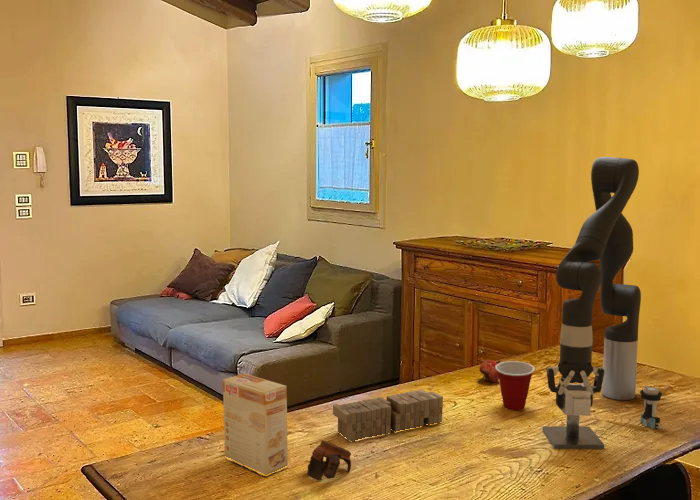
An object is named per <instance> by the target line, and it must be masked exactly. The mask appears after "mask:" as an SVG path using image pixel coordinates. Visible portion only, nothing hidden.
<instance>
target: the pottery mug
mask: <svg viewBox="0 0 700 500" xmlns="http://www.w3.org/2000/svg"><path fill="white" fill-rule="evenodd" d="M311 453H312V454H311V456H310V460H309V463H308V464H307V472H306V474H307V475H308V477H310V478H311V479H313V480H316V481H318V480H321V481H322V479H323V476H324V477H325V479H327V480H331V479H334V478H335V476H336V475H337V470H338V469H339V467H340V464H341V460H343V462H345V463H346V464H347V470H346V472H351V469H352V460H351V456H352V453H351V452H350V451H349V450H347V449H345V448H343V447H342V446H339V445H337V444H333V443H332V442H330V441H327V440H322V441H321V443H320V444H319V445H318V446H316V447H315V449H313V451H312V452H311ZM324 458H325V461H324Z"/></svg>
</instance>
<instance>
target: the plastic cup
mask: <svg viewBox="0 0 700 500" xmlns="http://www.w3.org/2000/svg"><path fill="white" fill-rule="evenodd" d="M495 367H496V370H497V372H498V376H499V380H498V381H499V387H500V392H501V393H500V395H501V398H502V405H503V408H504V409H506V410H508V411H515V412H516V411H517V412H518V411H523V410H524V409H525V407H526V405H527V404H526V402H527V398H528V395H529V390H530V385H531V380H532V377H533V373H534V372H535V370H536V369H535V366H534V365H532V364H530V363H528V362H524V361H517V360H509V361H502V362H501V361H500V363H498V364H497V365H496V366H495Z"/></svg>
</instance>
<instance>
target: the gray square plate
mask: <svg viewBox="0 0 700 500" xmlns="http://www.w3.org/2000/svg"><path fill="white" fill-rule="evenodd" d="M542 431H543V433H544V435H545V436H546V438H547V439H548V441H549V442H550V444H551V446H552V447H553V449H574V450H576V449H577V450H579V449H580V450H581V449H583V450H584V449H585V450H587V449H589V450H601V449H602V450H604V449H605V444H604V443H603V441H602V440H601V439H600V438H599V436H598V435H597V434H596V433H595V432H594V430H593V429H592V428H591V427H590V426H580V416H579V415H566V425H563V426H557V425H556V426H554V425H553V426H552V425H551V426H549V425H548V426H546V425H545V426H543V425H542Z"/></svg>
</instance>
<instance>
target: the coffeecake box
mask: <svg viewBox="0 0 700 500" xmlns="http://www.w3.org/2000/svg"><path fill="white" fill-rule="evenodd" d="M287 387H288V385H284V384H282V383H278V382H275V381H271V380H268V379H265V378H261V377H257V376H254V375H251V374H248V373H242V374H241V373H240V374H238V375H234V376H230V377H227V378H222V394H223V395H222V397H223V429H224V430H223V432H224V433H223V434H224V436H223V437H224V439H223V440H224V457H225V456H226V457H228V458H231V459H233V460H235V461H237V462H239V463H241V464H243V465H246V466H248V467H250V468H252V469H255V470H257V471H259V472H261V473H263V474H265V475H267V474H269V473H272V472H275V471H277V470H279V469H281V468H283V467H285V466H287V465H288V464H289V458H288V457H289V456H288V454H289V453H288V397H287V396H288V395H287V391H288V390H287ZM288 466H289V465H288Z"/></svg>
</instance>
